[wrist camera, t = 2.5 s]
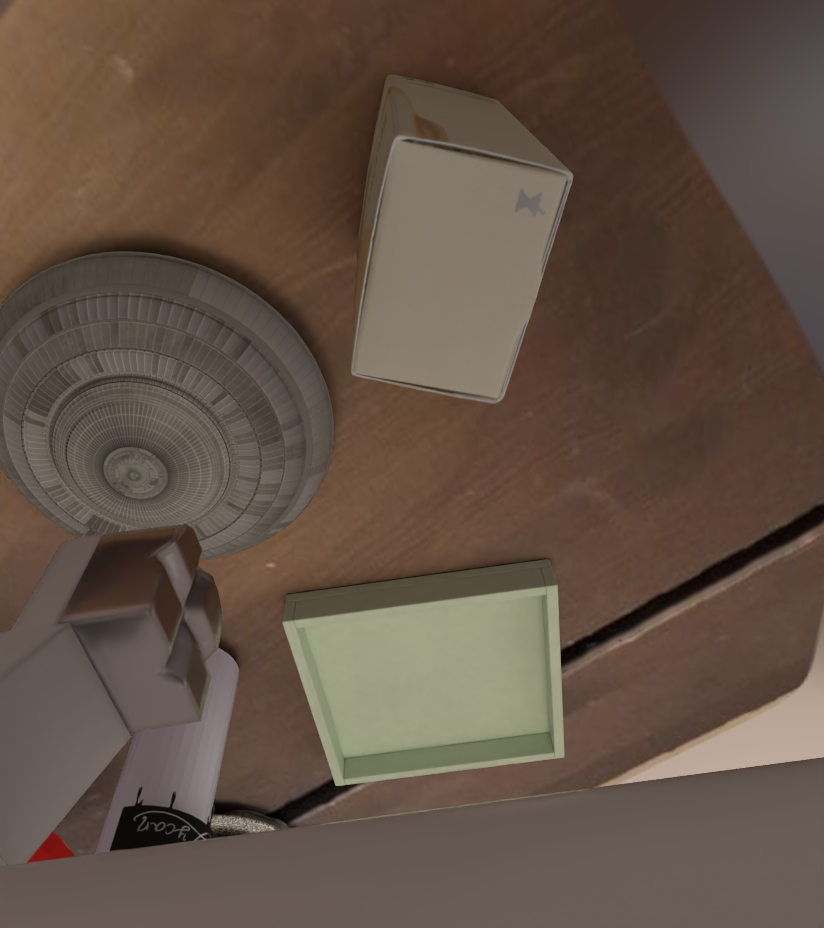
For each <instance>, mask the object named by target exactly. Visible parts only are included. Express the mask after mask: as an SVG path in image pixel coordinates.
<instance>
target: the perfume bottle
mask: <svg viewBox="0 0 824 928" xmlns="http://www.w3.org/2000/svg"><path fill="white" fill-rule="evenodd" d="M205 663H206V665H207V668H208V670H209V672H210V675H211V680H210V685H209V689H208V693H207V697H206V701H205V705H204V709H203V714H202V718H201V721H200V722H194V723H188V724H182V725H176V726H170V727H164V728H158V729H151V730H145V731H139V732H134V734H133V737H132V740H131V743H130V746H129V749H128V752H127V755H126V758H125V761H124V764H123V767H122V770H121V773H120V776H119V779H118V782H117V785H116V788H115V791H114V794H113V797H112V800H111V803H110V806H109V809H108V812H107V815H106V818H105V821H104V824H103V827H102V830H101V833H100V836H99V839H98V843H97V846H96V849H95V852H94V854H98V853H105V852H113V851H121V850H128V849H136V848H143V847H151V846H158V845H166V844H173V843H181V842H189V841H196V840H204V839H210V835H211V838H215V833H214V832H213V831H212V829H211V820H212V817H213V814H214V809H215V806H214V805H213V802H214V798H215V793H216V788H217V783H218V778H219V773H220V768H221V763H222V758H223V753H224V748H225V743H226V738H227V733H228V728H229V723H230V718H231V714H232V709H233V704H234V699H235V694H236V689H237V684H238V679H239V668H238V666H237V663H236V662H235V660H234V659H233V658H232V657H231V656H230V655H229V654H228V653H226V652H225V651H223V650H222V649H219V648H218V649H217V650H216V651H215V652H214V653H213V654H212V655H211V656H210V657H209V658H208V659H207V660H206V661H205ZM210 817H211V818H210ZM207 833H209V834H210V835H209V834H207Z"/></svg>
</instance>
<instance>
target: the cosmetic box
mask: <svg viewBox="0 0 824 928" xmlns="http://www.w3.org/2000/svg"><path fill="white" fill-rule="evenodd" d="M572 180H573V174H572V173H571V172H570V170H568V169H567V168H566V167H565V166H564V165H563V164H562V163H561V162H560V161H559V160H558V159H557V158H556V157H555V156H554V155H553V154H552V153H551V152H550V151H549V150H548V149H547V148H546V147H545V146H543V145H542V144H541V143H540V142H539V141H538V140H537V138H536V137H535V136H534V135H532V134H531V133H530V132H529V131H528V130H527V129H526V128H525V127H524V126H523V125H522V124H521V123H520V122H519V121H518V120H517V119H516V118H515V117H514V116H513V115H512V114H511V113H510V112H509V111H508V110H507V109H506V108H505V107H504V106H503V105H502V104H501V103H500V102H499V101H497V100H495V99H492V98H489V97H485V96H482V95H478V94H475V93H471V92H467V91H464V90H460V89H456V88H452V87H448V86H444V85H440V84H437V83H432V82H428V81H423V80H418V79H414V78H409V77H403V76H398V75H392V74H391V75H388V76H387V78H386V80H385V84H384V89H383V94H382V99H381V104H380V108H379V113H378V118H377V123H376V128H375V133H374V139H373V144H372V149H371V155H370V160H369V166H368V172H367V179H366V186H365V193H364V200H363V207H362V215H361V222H360V229H359V236H358V249H357V273H356V290H355V305H354V323H353V338H352V353H351V374H352V375H353V376H356V377H360V378H366V379H371V380H377V381H380V382H384V383H389V384H394V385H399V386H404V387H408V388H413V389H416V390H422V391H428V392H433V393H438V394H443V395H448V396H453V397H458V398H464V399H470V400H475V401H480V402H486V403H492V404H494V403H497V402H499V401H500V400H501V399H503V397H504V395H505V391H506V388H507V385H508V382H509V379H510V376H511V373H512V370H513V367H514V364H515V361H516V358H517V355H518V352H519V349H520V346H521V343H522V340H523V336H524V333H525V330H526V327H527V324H528V321H529V319H530V316H531V312H532V309H533V306H534V303H535V300H536V297H537V294H538V290H539V287H540V283H541V280H542V277H543V273H544V270H545V266H546V263H547V260H548V257H549V254H550V251H551V248H552V245H553V242H554V238H555V235H556V231H557V228H558V225H559V222H560V219H561V216H562V213H563V209H564V206H565V202H566V199H567V196H568V193H569V190H570V187H571V185H572Z"/></svg>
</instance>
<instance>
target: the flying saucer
mask: <svg viewBox="0 0 824 928" xmlns="http://www.w3.org/2000/svg"><path fill="white" fill-rule="evenodd" d="M333 440H334V419H333V410H332V404H331V399H330V395H329V392H328V388H327V385H326V383H325V380H324V377H323V375H322V373H321V370H320V368H319V366H318V364H317V362H316V360H315V358H314V356H313V355H312V353H311V352H310V350H309V348H308V347H307V345H306V344H305V342H304V341H303V340H302V338H301V337H300V336H299V334H298V333H297V332H296V331H295V329H294V328H293V327H292V326H291V325H290V324H289V323H288V322H287V320H286V319H285V318H284V317H283V316H282V315H281V314H280V313H279V312H278V311H276V310H275V309H274V308H273V307H272V306H271V305H270V304H268V303H267V302H266V301H265V300H263V299H262V298H261V297H259V296H258V295H257V294H255V293H254V292H252V291H251V290H250V289H248V288H247V287H245V286H243V285H242V284H240V283H238V282H237V281H235V280H233V279H231V278H229V277H227V276H225V275H223V274H221V273H219V272H217V271H215V270H212V269H210V268H208V267H205V266H202V265H200V264H197V263H194V262H191V261H187V260H184V259H180V258H176V257H172V256H167V255H161V254H155V253H147V252H132V251H119V252H104V253H97V254H90V255H86V256H81V257H77V258H74V259H70V260H67V261H64V262H62V263H59V264H56V265H54V266H52V267H50V268H48V269H45V270H44V271H42V272H40V273H38V274H37V275H35V276H33V277H32V278H30V279H29V280H27V281H26V282H24V283H23V284H22V285H21V286H19V287H18V288H17V289H16V290H15V291H14V292H13V293H12V294H11V295H10V296H8V298H7V299H6V300H5V301H4V302H3V303H2V304H1V306H0V466H1V468H2V469H3V471H4V472H5V474H6V475H7V477H8V478H9V479H10V480H11V482H12V483H13V484H14V486H15V487H16V488H17V489H18V490H19V491H20V492H21V494H22V495H23V496H24V497H25V498H26V499H27V500H28V501H29V502H30V503H31V504H32V505H33V506H34V507H35V508H37V509H38V510H39V511H40V512H41V513H42V514H44V515H45V516H46V517H47V518H49V519H50V520H51V521H53V522H54V523H56V524H57V525H59V526H60V527H61V528H63V529H65V530H66V531H68V532H70V533H71V534H73V535H75V536H77V537H79V538H80V537H86V536H93V535H100V534H109V533H116V532H124V531H132V530H140V529H148V528H156V527H164V526H172V525H180V524H187V525H188V526H190V527H191V528H193V529H194V531H195V534H196V536H197V538H198V541H199V543H200V546H201V548H202V552H201V556H200V559H199V561H200V560H207V559H213V558H218V557H222V556H226V555H230V554H233V553H237V552H240V551H242V550H245V549H248V548H250V547H252V546H255V545H257V544H259V543H261V542H263V541H265V540H266V539H268V538H270V537H271V536H273V535H275V534H276V533H278V532H279V531H281V530H282V529H283V528H285V527H286V526H287V525H289V524H290V523H291V522H292V521H293V520H294V519H295V518H297V517H298V515H299V514H300V513H301V512H302V511H303V510H304V509H305V508H306V507H307V505H308V504H309V503H310V502H311V500H312V499H313V497H314V496H315V494H316V493H317V491H318V489H319V488H320V486H321V484H322V482H323V479H324V477H325V475H326V472H327V469H328V466H329V463H330V459H331V455H332V449H333Z"/></svg>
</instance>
